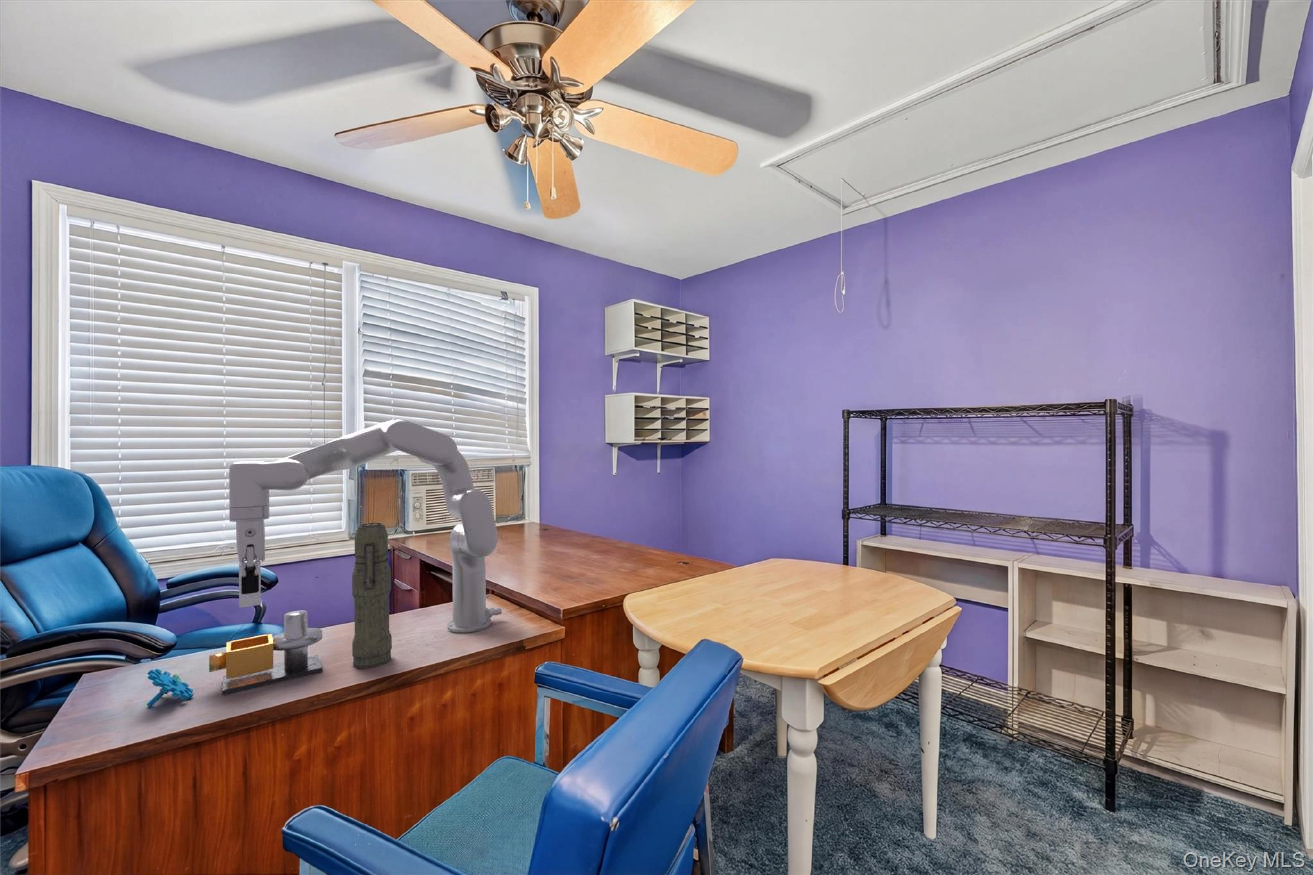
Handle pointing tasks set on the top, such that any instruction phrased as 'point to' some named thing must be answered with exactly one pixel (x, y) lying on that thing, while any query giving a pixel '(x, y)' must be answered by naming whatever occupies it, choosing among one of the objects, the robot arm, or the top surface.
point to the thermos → (371, 597)
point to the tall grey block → (251, 598)
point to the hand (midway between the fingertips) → (250, 590)
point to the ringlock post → (269, 656)
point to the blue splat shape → (168, 685)
